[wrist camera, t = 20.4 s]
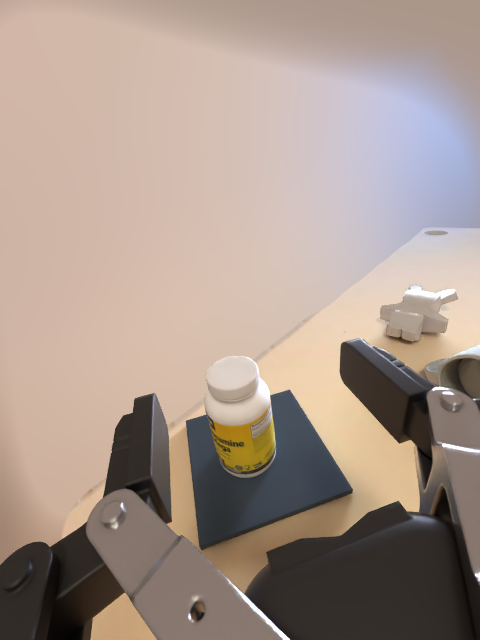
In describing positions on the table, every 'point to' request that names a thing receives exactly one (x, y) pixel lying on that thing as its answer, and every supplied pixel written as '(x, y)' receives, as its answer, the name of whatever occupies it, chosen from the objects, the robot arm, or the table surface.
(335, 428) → the table surface
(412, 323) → the bunny figurine
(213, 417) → the pill bottle
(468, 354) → the ceramic mug
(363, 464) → the table surface
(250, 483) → the mat
